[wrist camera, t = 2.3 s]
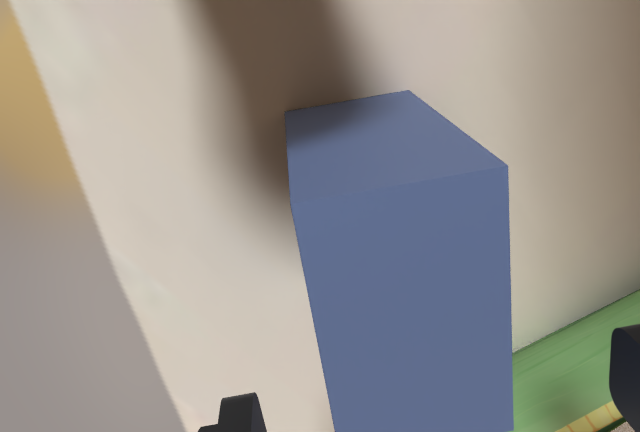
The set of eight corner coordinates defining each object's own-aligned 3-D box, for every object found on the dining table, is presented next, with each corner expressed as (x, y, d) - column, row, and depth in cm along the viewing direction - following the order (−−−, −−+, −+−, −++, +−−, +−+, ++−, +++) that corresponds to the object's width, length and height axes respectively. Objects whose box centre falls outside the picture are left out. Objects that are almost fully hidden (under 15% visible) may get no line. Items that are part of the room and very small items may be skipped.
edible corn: (403, 398, 28) (426, 470, 24) (773, 177, 24) (877, 216, 20) (452, 456, 30) (481, 533, 25) (803, 258, 26) (903, 309, 22)
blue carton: (316, 284, 24) (340, 461, 15) (284, 111, 21) (290, 204, 12) (429, 264, 25) (520, 429, 15) (413, 89, 21) (516, 164, 12)
